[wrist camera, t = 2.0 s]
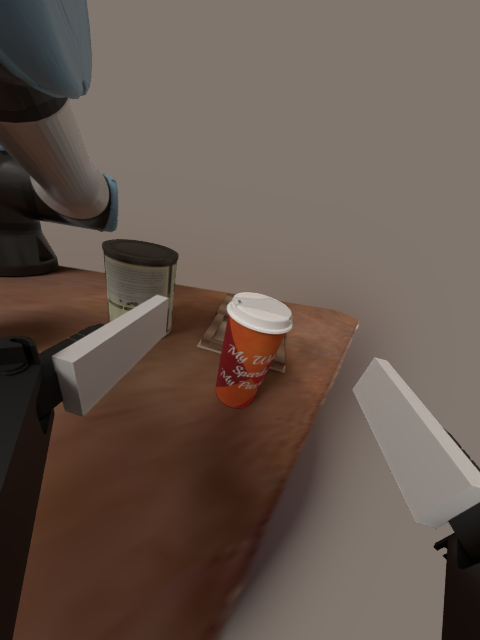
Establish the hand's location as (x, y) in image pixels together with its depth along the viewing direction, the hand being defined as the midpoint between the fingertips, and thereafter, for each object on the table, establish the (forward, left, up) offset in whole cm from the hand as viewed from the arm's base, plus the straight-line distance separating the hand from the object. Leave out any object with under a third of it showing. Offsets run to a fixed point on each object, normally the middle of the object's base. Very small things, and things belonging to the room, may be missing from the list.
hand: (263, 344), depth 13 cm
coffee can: (-26, +6, -15) cm, 31 cm away
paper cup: (-5, +9, -15) cm, 18 cm away
